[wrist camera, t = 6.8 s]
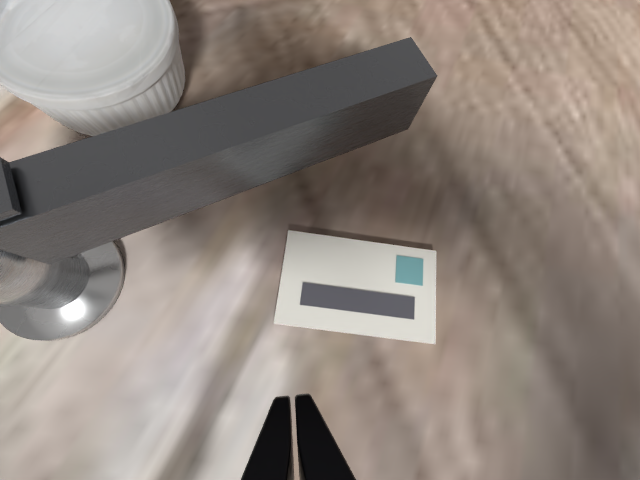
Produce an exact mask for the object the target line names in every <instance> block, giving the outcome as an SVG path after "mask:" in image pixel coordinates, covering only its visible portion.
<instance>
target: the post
mask: <svg viewBox="0 0 640 480" xmlns="http://www.w3.org/2000/svg"><path fill="white" fill-rule="evenodd" d="M124 276H125V266H124V260H123V257H122V254H121V252H120V250H119V248H118V246H117V245H116V244H115V243H114V241H111V242H109V243H106V244H104V245H101V246H98V247H96V248H93V249H90V250H88V251H85V252H82V253H80V254H77V255H75V256H72V257H69V258H67V259H64V260H61V261H59V262H56V263H53V264H51V265H49V264H45V263H42V262H39V261H36V260H32V259H29V258H26V257H23V256H19V255H16V254H13V253H10V252H6V251H3V250H0V323H1V324H2V325H3V326H4V327H5V328H6V329H8V330H9V331H10V332H12V333H14V334H16V335H18V336H20V337H23V338H26V339H32V340H60V339H65V338H69V337H72V336H75V335H77V334H80V333H82V332H84V331H86V330H87V329H89V328H91V327H92V326H94V325H95V324H96V323H98V322H99V321H100V320H101V319H102V318H103V317H104V316H105V315H106V314H107V313H108V312H109V311H110V310H111V308H112V307H113V305H114V304H115V303H116V301H117V299H118V297H119V295H120V292H121V290H122V287H123V283H124Z"/></svg>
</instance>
